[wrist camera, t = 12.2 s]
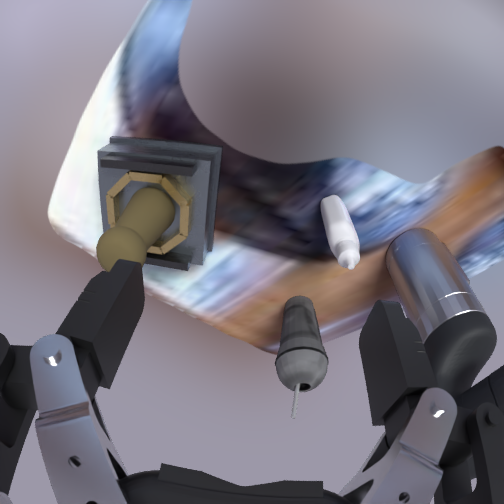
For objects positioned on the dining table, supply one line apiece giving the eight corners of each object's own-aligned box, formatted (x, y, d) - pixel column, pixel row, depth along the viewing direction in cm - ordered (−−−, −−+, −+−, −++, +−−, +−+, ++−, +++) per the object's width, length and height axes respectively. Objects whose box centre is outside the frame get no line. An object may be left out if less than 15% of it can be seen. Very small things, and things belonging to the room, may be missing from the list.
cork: (167, 238, 39) (136, 296, 30) (125, 220, 38) (84, 272, 29) (181, 198, 36) (149, 250, 27) (135, 179, 35) (90, 224, 26)
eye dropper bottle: (354, 196, 40) (378, 245, 30) (345, 233, 43) (363, 289, 33) (322, 191, 40) (336, 240, 30) (315, 229, 43) (325, 286, 33)
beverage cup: (319, 321, 52) (329, 428, 36) (276, 322, 53) (272, 430, 36) (323, 288, 48) (337, 402, 32) (276, 289, 49) (272, 403, 32)
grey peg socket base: (222, 146, 37) (212, 163, 32) (212, 248, 46) (203, 278, 40) (112, 136, 37) (85, 151, 31) (117, 232, 45) (96, 259, 40)
